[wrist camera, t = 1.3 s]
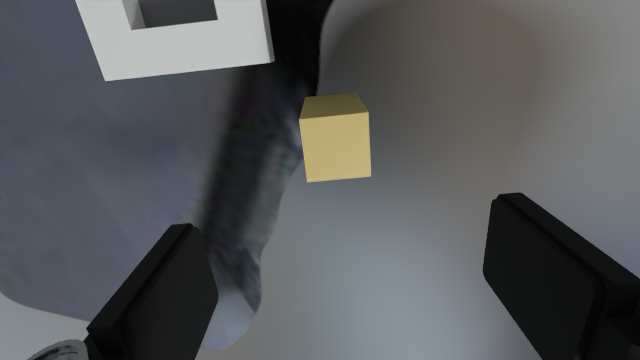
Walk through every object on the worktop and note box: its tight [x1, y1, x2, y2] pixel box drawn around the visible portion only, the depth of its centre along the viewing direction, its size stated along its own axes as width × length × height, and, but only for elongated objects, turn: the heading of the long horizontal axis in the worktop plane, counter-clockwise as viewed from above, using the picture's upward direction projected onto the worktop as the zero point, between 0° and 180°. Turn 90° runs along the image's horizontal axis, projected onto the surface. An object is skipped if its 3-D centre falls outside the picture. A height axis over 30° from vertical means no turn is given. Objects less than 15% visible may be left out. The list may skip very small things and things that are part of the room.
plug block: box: [299, 92, 371, 182], centre depth 22 cm, size 4×4×8 cm
